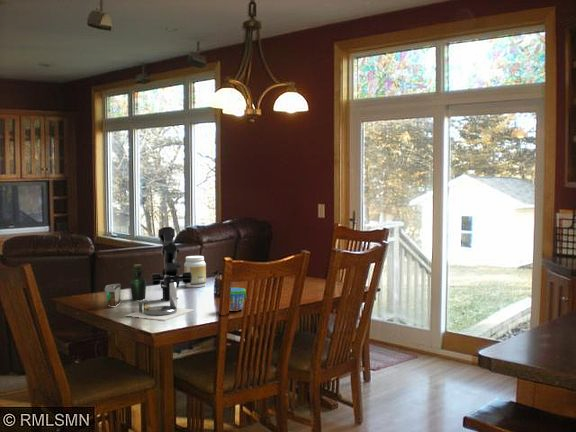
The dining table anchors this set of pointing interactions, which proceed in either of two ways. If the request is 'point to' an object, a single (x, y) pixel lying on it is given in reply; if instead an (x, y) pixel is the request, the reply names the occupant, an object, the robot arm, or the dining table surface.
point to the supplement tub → (196, 271)
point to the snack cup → (237, 298)
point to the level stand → (158, 317)
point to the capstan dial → (164, 309)
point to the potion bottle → (138, 284)
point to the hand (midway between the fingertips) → (172, 292)
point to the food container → (113, 294)
